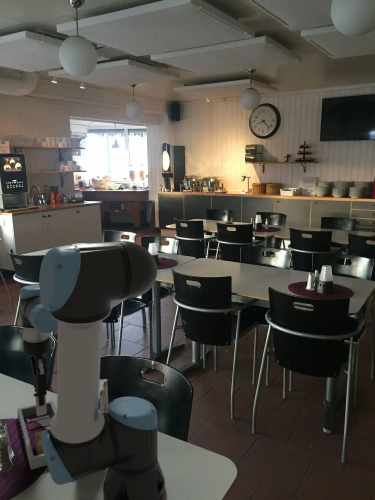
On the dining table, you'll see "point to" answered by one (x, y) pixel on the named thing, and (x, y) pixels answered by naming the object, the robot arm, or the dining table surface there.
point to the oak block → (39, 443)
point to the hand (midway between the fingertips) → (41, 413)
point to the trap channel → (31, 415)
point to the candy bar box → (103, 396)
